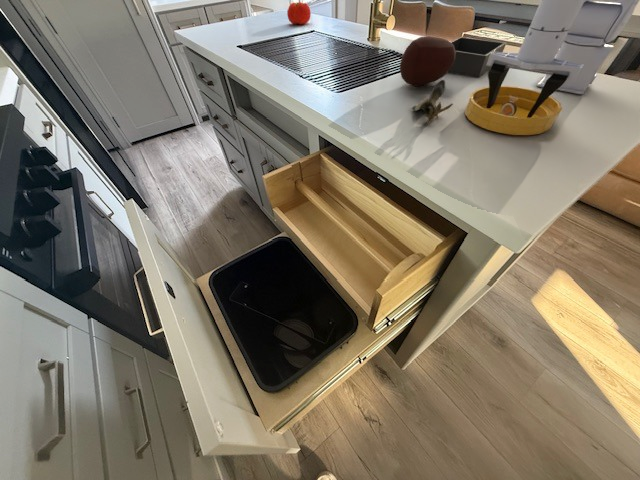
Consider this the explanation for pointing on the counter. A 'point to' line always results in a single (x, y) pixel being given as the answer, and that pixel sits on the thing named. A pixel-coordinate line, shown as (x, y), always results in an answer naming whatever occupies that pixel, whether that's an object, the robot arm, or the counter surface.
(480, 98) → the bowl
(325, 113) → the counter surface
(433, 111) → the eagle figurine
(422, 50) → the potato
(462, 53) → the bin
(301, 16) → the tomato
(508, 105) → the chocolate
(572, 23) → the robot arm
